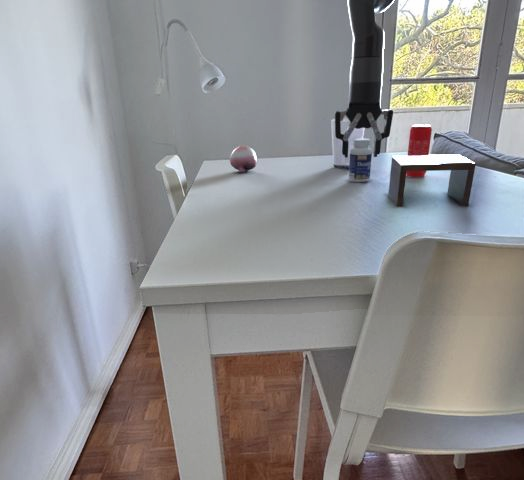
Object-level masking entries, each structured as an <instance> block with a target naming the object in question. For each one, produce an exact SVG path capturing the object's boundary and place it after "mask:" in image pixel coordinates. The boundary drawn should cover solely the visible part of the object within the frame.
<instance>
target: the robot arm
mask: <svg viewBox="0 0 524 480" xmlns="http://www.w3.org/2000/svg"><path fill="white" fill-rule="evenodd" d="M346 1H347V10H348V15H349V16H348V17H349V24H350V29H351V34H352V43H351V44H352V45H351V61H350V66H349V67H350V68H349V76H348V82H349V83H348V99H347V100H348V104H347V107H346V110H340V111H339V110H336V111H335V112H334V119H335V136H336V138H337V139H341V140H342V154H343V155H345V158H346V157H348V143H349V141H348V138H349V137H350V135H351V133H352V132H353V130H354V128H356V129H360V128H365V129H370V128H371V131H372V133H373V135H374V137H375V139H374V141H373V142H374V143H373V152H372V157H374V158H377V157H378V155H380V154H381V147H382V140H384V139H386V138H389V137H390V136H391V129H392V122H393V117H394V110H393V109H382V107H381V102H382V101H381V100H382V87H383V76H384V75H383V74H384V49H385V30H384V27H382V26H380V25H378V24H377V21H376V14H380V13H383V12H385V11H386V10H387V9H389V8H390V6H391V5H392V4H393V3H394V1H395V0H346ZM381 115H382V119H383V120H384V127H383V131H382V132H381V131H380V129H379V126H378V125H377V120H378V119H379V118H380V117H381ZM345 116H346V118H348V119H349V121H350V124H349V126H348V128H347V130H346V132H345V133H344V134H341V126H340V121H342V120H343V118H345Z"/></svg>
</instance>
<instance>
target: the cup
mask: <svg viewBox="0 0 524 480" xmlns="http://www.w3.org/2000/svg"><path fill="white" fill-rule="evenodd" d="M349 124H350V121H349V119H348V118H347V117H344V118H343V120H342V121H340V126H341V134H344V133H345V132H346V130H347V128H348V126H349ZM330 126H331V129H330V130H331V149H332V164H333V167H334V168H337V169H341V170H342V169H343V168H344V167H346V168H347V169H349V164H350V151H351V149H353V148H354V146H353V142H354V139H361V138H364V136H365V129H366V128H360V129H356V128H354V130H353V132H352V133H351V135H350V137H349V138H348V141H349V143H348V157H346V158H345V155H343V154H342V140H341V139H337V138H336V136H335V118H333V119H330Z"/></svg>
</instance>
